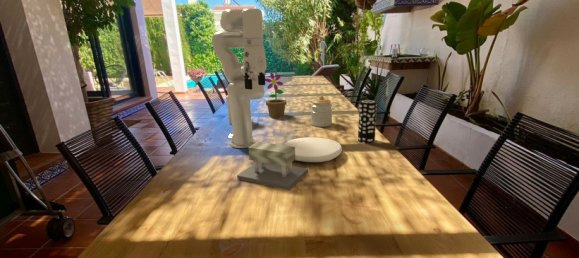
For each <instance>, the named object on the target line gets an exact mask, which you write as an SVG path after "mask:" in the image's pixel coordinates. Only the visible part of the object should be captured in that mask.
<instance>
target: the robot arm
mask: <svg viewBox="0 0 579 258" xmlns="http://www.w3.org/2000/svg"><path fill="white" fill-rule="evenodd" d="M220 15H221V16H220V22H219V25H220V27H221V29H223V31H217V32H215V33H214V34H212V37H211V44H212V47H213V51H214V53H215V55H216V56H217V58H218V59H219V61H220V63H221V66H222V69H223V73H224V76H225V78H226V80H227V81H228V83H229V84H228V85H227V88H226V90H227V91H226V92H227V95H228V96H229V101H230V106H231V117H232V124H231V126H232V134H231V133H229V134H228V136H227V139H228V140H231V142H230V146H231V147H233V148H235V149H247V148H248V147H250V146H252V145H253V144H255V143H257V141H256V139H254V138H253V124H252V121H253V120H252V111H251V106H250V107H249V106H248V105H247V104H246V103H245V101H247V100H250V101H252V100H253V101H254V100H260V99H262V98H263V97H264V95H265V88H264V86H266V81H265V79H266V75H267V74H266V73H267V68H268V63H267V59H266V58H267V57H266V51H265V46H264V32H263V31H264V30H263V29H264V28H263V11H262V10H261V9H260V8H252V7H251V8H250V7H249V8H230V9H229V8H228V9H224V10H222V12H221V14H220ZM231 49H243V53H242V54H243V55H242V56H243V58H242V59H243V61H242V62H240V61H239V58H238V56H237V55H236V54H235V53H234V52H233V51H232V50H231Z"/></svg>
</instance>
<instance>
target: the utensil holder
mask: <svg viewBox="0 0 579 258" xmlns="http://www.w3.org/2000/svg"><path fill="white" fill-rule="evenodd" d="M225 98H226V104H227V115H228V116H227V117H228V123H229V124H230V125H232V117H231V106H230V101H229V96H228V94H227V95H226V96H225ZM245 103H246V104H247V105H248V106H249V107H250V108H251V100H247V101H245Z"/></svg>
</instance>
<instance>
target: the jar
mask: <svg viewBox="0 0 579 258" xmlns="http://www.w3.org/2000/svg"><path fill="white" fill-rule="evenodd" d="M331 102H332V101H331V100H330V99H329V98H328V97H327V98H326V97H324V95H319V97H317V98H314V99H312V101H311V104H310V107H311V108H310V124H311V126H313V127H318V128H319V127H320V128H325V127H326V128H327V127H330V126H332V125H333V124H332V123H333V109H332V108H333V104H332V103H331Z"/></svg>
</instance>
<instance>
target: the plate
mask: <svg viewBox="0 0 579 258" xmlns="http://www.w3.org/2000/svg"><path fill="white" fill-rule="evenodd" d="M282 145H285V146H292V147H295V160H294V161H298V162H304V163H322V162H329V161H331V160H333V159H335V158H337V157H338V156H340V154H342V151H343V148H342V145H341V144H340V143H339V142H337V141H335V140H332V139H328V138H324V137H300V138H294V139H290V140H288V141H286V142H285V143H283V144H282Z"/></svg>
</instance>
